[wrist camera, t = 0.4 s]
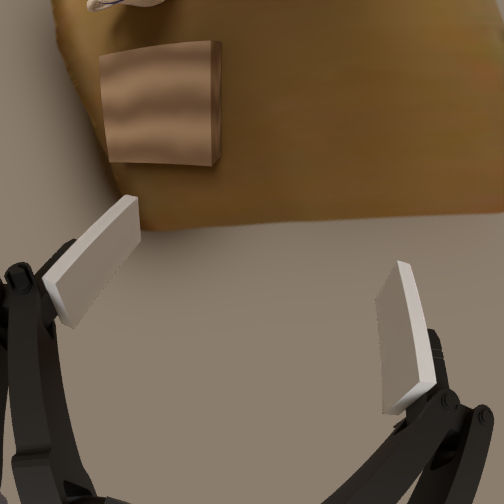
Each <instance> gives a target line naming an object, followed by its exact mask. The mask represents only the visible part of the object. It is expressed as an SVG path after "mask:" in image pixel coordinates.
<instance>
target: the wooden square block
mask: <svg viewBox="0 0 504 504" xmlns="http://www.w3.org/2000/svg"><path fill="white" fill-rule="evenodd" d="M99 69H100V84H101V97H102V107H103V117H104V125H105V133H106V141H107V148H108V155H109V161H110V162H133V163H164V164H184V165H200V166H213V165H214V163H215V162H216V161H217V160H218V159H219V158H220V157H221V42H219V41H211V40H210V41H195V42H183V43H173V44H165V45H157V46H150V47H143V48H137V49H132V50H126V51H121V52H116V53H111V54H107V55H102V56H99Z"/></svg>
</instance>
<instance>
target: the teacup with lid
mask: <svg viewBox="0 0 504 504" xmlns="http://www.w3.org/2000/svg"><path fill="white" fill-rule="evenodd" d="M164 1H165V0H88V2H87V9H88V10H89V11H90V12H98V11H102V10H105V9H107V8H109V7H111V6H113V5H114V4H116V3H118V4H126V5H134V6H140V7H151V6H155V5H158V4H160V3H162V2H164ZM97 2H99V3H100V4H96V3H97ZM95 4H96V5H95Z"/></svg>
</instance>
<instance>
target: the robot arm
mask: <svg viewBox="0 0 504 504" xmlns="http://www.w3.org/2000/svg"><path fill="white" fill-rule="evenodd" d="M140 241H141V234H140V222H139V208H138V197H134V196H130V195H124V196H123V197H122V198H121V199H120V200H119V201H118V202H117V203H116V204H114V205H113V206H112V207H111V208H110V209H109V210H108V211H107V212H106V213H105V214H104V215H103V216H101V217H100V218H99V219H98V220H97V221H96V222H95V223H94V224H93V225H92V226H91V227H90V228H89V229H88V230H87V231H86V232H85V233H84V234H83V235H82V236H81V237H80V238H79V239H78V240H76V239H72V240H70V241H69V242H67V243H65V244H64V245H63V246H62V247H61V248H60V249H59V250H58V251H57V252H56V253H55V254H54V255H53V256H52V258H50V259H49V260H48V261H47V262H46V263H45V264H44V265H43V266H42V267H41V269H40V270H39V271H38V272H37V273H36V274H35V275H34V274H33V272H32V269H31V267H30V265H29V264H28V263H25V262H19V263H16V264H14V265H12V266H11V267H9V268H8V270H7V271H6V272H5V275H4V277H5V279H6V282H7V284H3V282H2V280H1V279H0V487H1V480H2V467H3V434H4V420H5V410H6V401H7V392H8V386H9V397H10V408H11V417H12V425H13V432H14V438H15V444H16V454H15V455H14V456H13V457H12V461H11V464H12V470H13V475H14V479H15V483H16V487H17V491H18V494H19V498H20V501H21V504H130V503H128V502H125V501H121V500H117V499H114V498H111V497H107V498H106V497H98V496H97V494H96V492H95V489H94V486H93V484H92V481H91V479H90V477H89V475H88V474H87V473H86V471H85V469H84V468H83V465H82V463H81V460H80V456H79V453H78V449H77V446H76V442H75V439H74V434H73V431H72V427H71V422H70V418H69V414H68V409H67V404H66V399H65V393H64V388H63V382H62V376H61V369H60V362H59V354H58V345H57V335H56V325H55V321H54V319H55V318H56V316H57V315H58V316H59V318H60V321H61V323H62V324H64V325H66V326H68V327H70V328H73V329H75V328H76V326H77V325H78V323H79V322H80V321H81V319H82V318H83V316H84V315H85V313H86V312H87V311H88V309H89V308H90V306H91V305H92V304H93V302H94V301H95V300H96V298H97V297H98V295H99V294H100V292H101V291H102V290H103V289H104V287H105V286H106V285H107V283H108V282H109V280H110V279H111V278H112V277H113V275H114V274H115V273H116V272H117V270H118V269H119V268H120V266H121V265H122V264H123V263H124V261H125V260H126V259H127V257H128V256H129V255H130V254H131V252H132V251H133V250H134V249H135V247H136V246H137V245H138V244H139V243H140ZM375 300H376V309H377V320H378V330H379V343H380V356H381V376H382V414H389V415H399V414H400V413H402V412H403V411H404V410H406V417H405V418H404V419H403V420H402V421H400V422H399V423H397V424H396V425H395V426H393V427H394V428H395V430H394V431H393V432H392V433H391V434H390V436H389V437H388V438H387V439H386V440H385V441H384V443H383V444H382V445H381V446H380V447H379V448H378V449H377V450H376V452H375V453H374V454H373V455H372V456H371V457H370V458H369V459H368V460H367V461H366V462H365V463H364V464H363V465H362V466H361V467H360V468H359V469H358V470H357V471H356V472H355V473H354V474H353V475H352V476H351V477H350V478H349V479H348V480H347V481H346V482H345V483H344V484H343V485H342V486H341V487H340V488H338V489H337V490H336V491H335V492H334V493H333V494H332V495H331V496H329V497H328V498H327V499H326V500H325V501H324V502H323V503H321V504H396V503H397V502H398V501H399V500H400V499H401V497H402V496H403V495H404V493H406V491H407V490H408V489H409V487H410V486H411V485H412V484H413V482H414V481H415V480H416V478H417V477H418V476H419V474H420V473H421V472H422V470H423V472H422V474H421V476H420V478H419V480H418V482H417V485H416V487H415V489H414V491H413V493H412V495H411V497H410V499H409V501H408V503H407V504H472V502H473V500H474V497H475V494H476V491H477V488H478V485H479V482H480V479H481V475H482V472H483V468H484V465H485V461H486V457H487V453H488V449H489V445H490V441H491V436H492V431H493V426H494V417H493V413H492V411H491V410H490V408H489V407H487V406H486V405H483V404H482V405H478V406H477V407H476V408H474V409H471V408H468V407H466V406H464V405H462V404H460V400H459V398H458V396H457V395H456V393H455V392H454V391H452V390H451V389H449V384H448V378H447V373H446V367H445V362H444V360H443V358H444V357H443V352H442V347H441V344H440V339H439V337H438V336H437V334H436V332H435V331H434V330H432V329H427V328H426V323H425V319H424V314H423V310H422V306H421V302H420V298H419V294H418V290H417V287H416V283H415V279H414V276H413V272H412V269H411V266H410V264H408V263H404V262H401V261H396V263H395V265H394V267H393V269H392V271H391V272H390V274H389V276H388V278H387V280H386V282H385V284H384V285H383V287H382V289H381V290H380V292H379V294H378V296H377V297H376V299H375ZM0 504H8V503H7V500H6V498H5V497H4V496H3V495H2V494H1V492H0Z"/></svg>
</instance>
